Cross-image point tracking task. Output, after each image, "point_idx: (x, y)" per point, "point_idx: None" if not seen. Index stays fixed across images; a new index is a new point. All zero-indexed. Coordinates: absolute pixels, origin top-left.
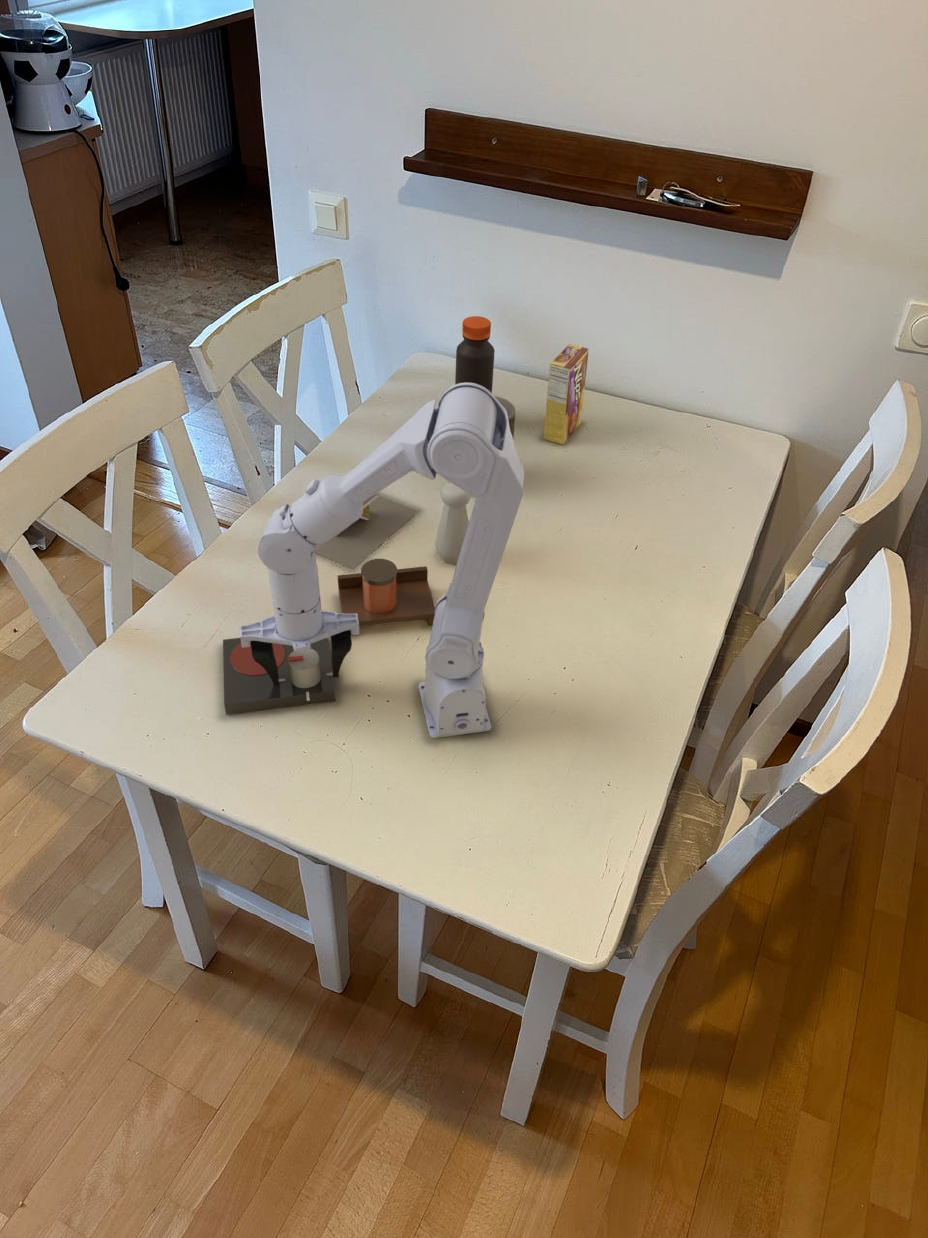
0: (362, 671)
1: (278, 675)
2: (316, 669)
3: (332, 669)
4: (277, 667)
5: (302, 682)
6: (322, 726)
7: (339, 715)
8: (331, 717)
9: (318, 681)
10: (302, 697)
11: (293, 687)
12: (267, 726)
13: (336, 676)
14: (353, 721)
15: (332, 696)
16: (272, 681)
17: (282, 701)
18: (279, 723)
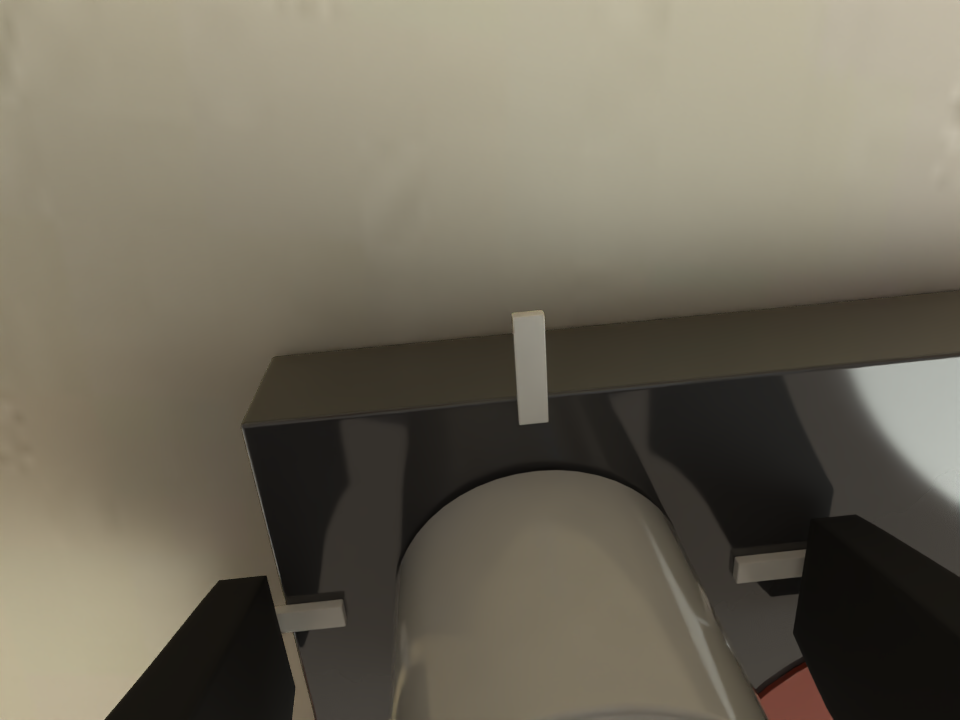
0: (90, 630)
1: (781, 613)
2: (424, 695)
3: (255, 675)
4: (775, 685)
5: (593, 526)
6: (380, 45)
7: (218, 184)
8: (296, 164)
9: (418, 541)
10: (581, 374)
11: (666, 486)
12: (910, 100)
13: (222, 592)
14: (55, 87)
15: (285, 384)
16: (913, 548)
17: (772, 344)
18: (795, 129)
